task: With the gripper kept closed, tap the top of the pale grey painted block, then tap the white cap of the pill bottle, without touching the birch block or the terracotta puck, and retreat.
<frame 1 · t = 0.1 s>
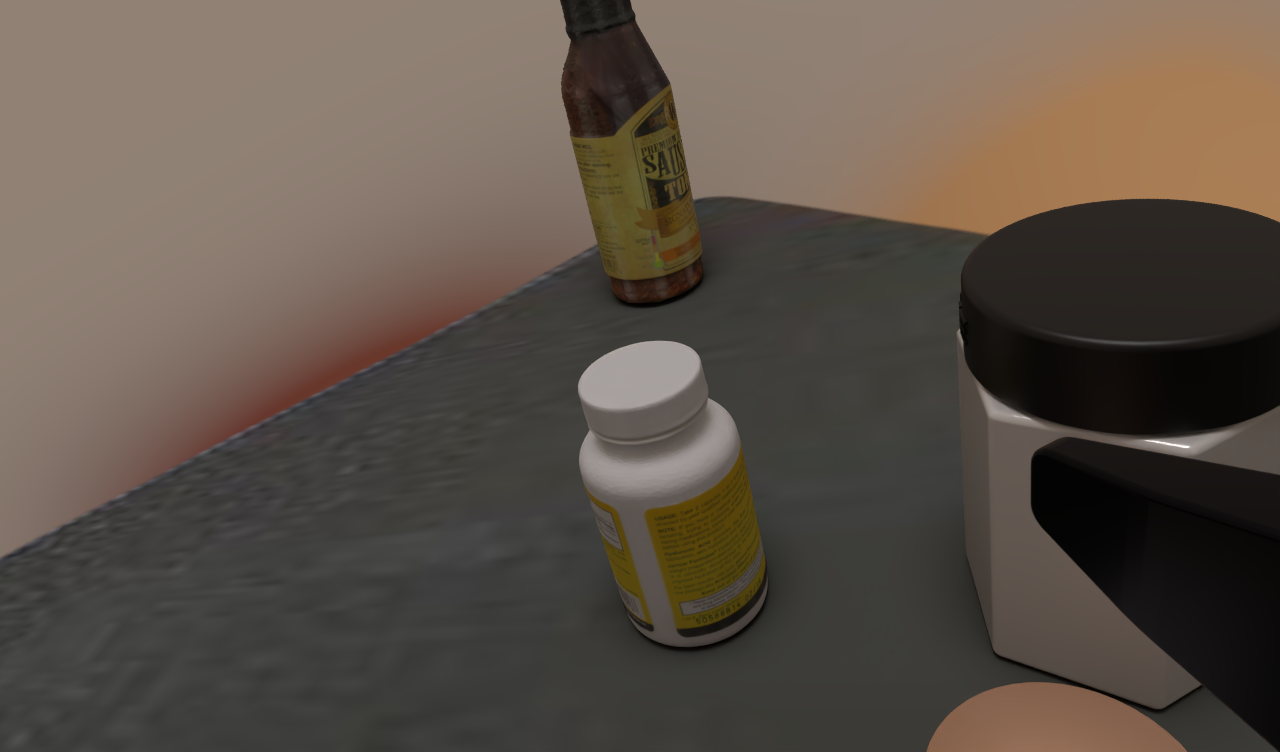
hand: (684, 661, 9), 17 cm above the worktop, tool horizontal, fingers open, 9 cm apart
supplement bottle: (698, 597, 32), on the worktop
sauce bottle: (660, 286, 55), on the worktop
jar: (1105, 599, 28), on the worktop
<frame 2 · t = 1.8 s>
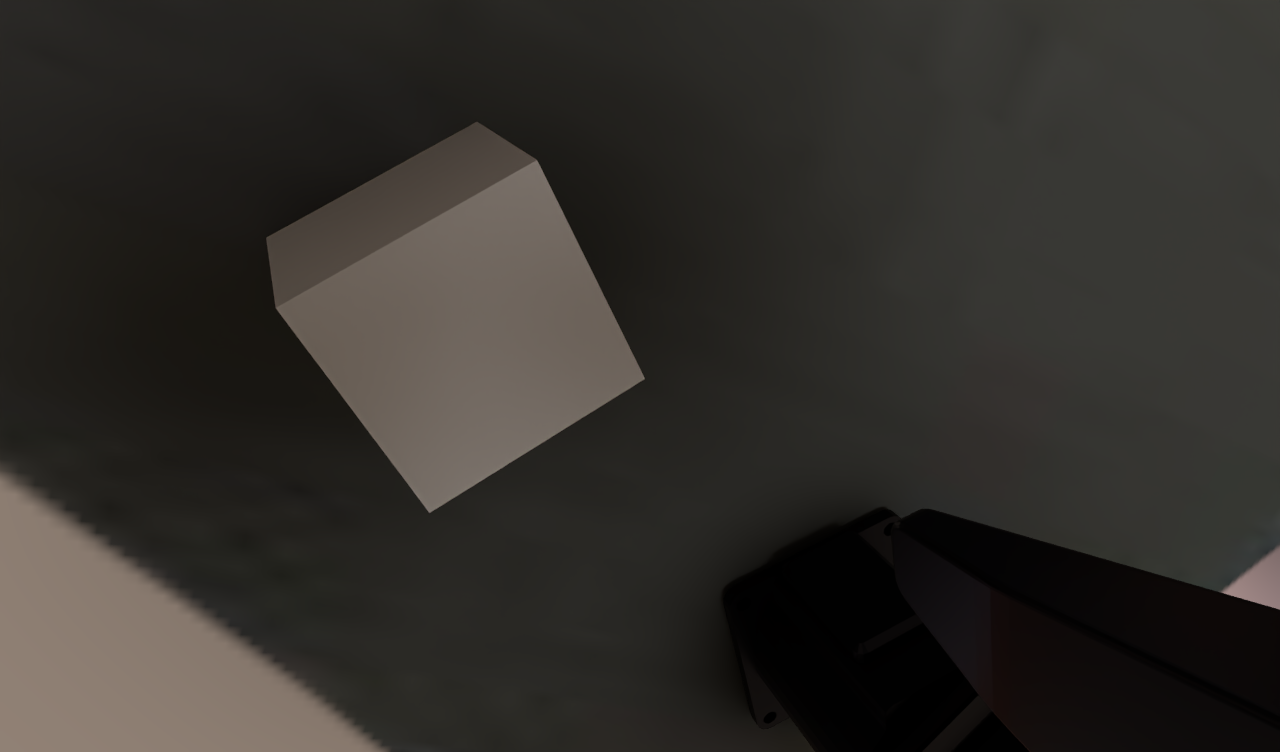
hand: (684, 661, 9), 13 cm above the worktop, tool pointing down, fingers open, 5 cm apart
grey block: (432, 274, 20), on the worktop
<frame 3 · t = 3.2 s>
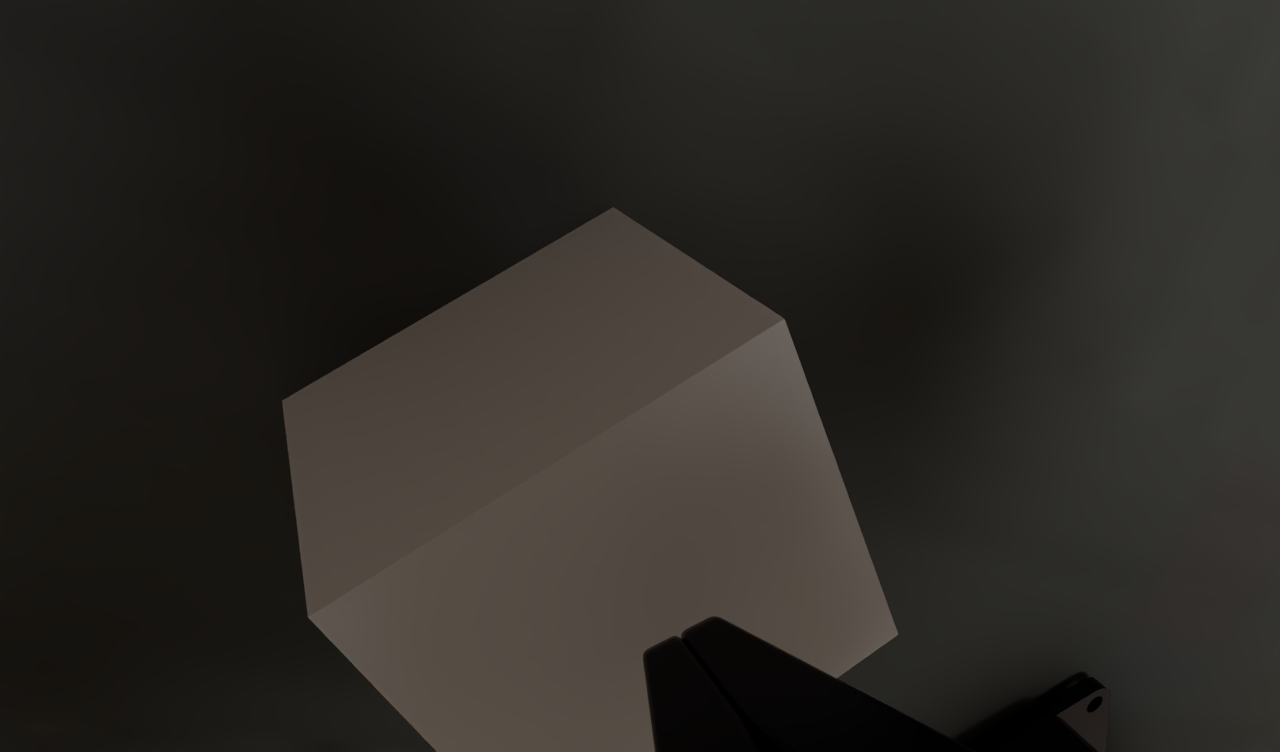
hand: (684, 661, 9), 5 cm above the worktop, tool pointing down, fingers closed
grey block: (534, 433, 13), on the worktop
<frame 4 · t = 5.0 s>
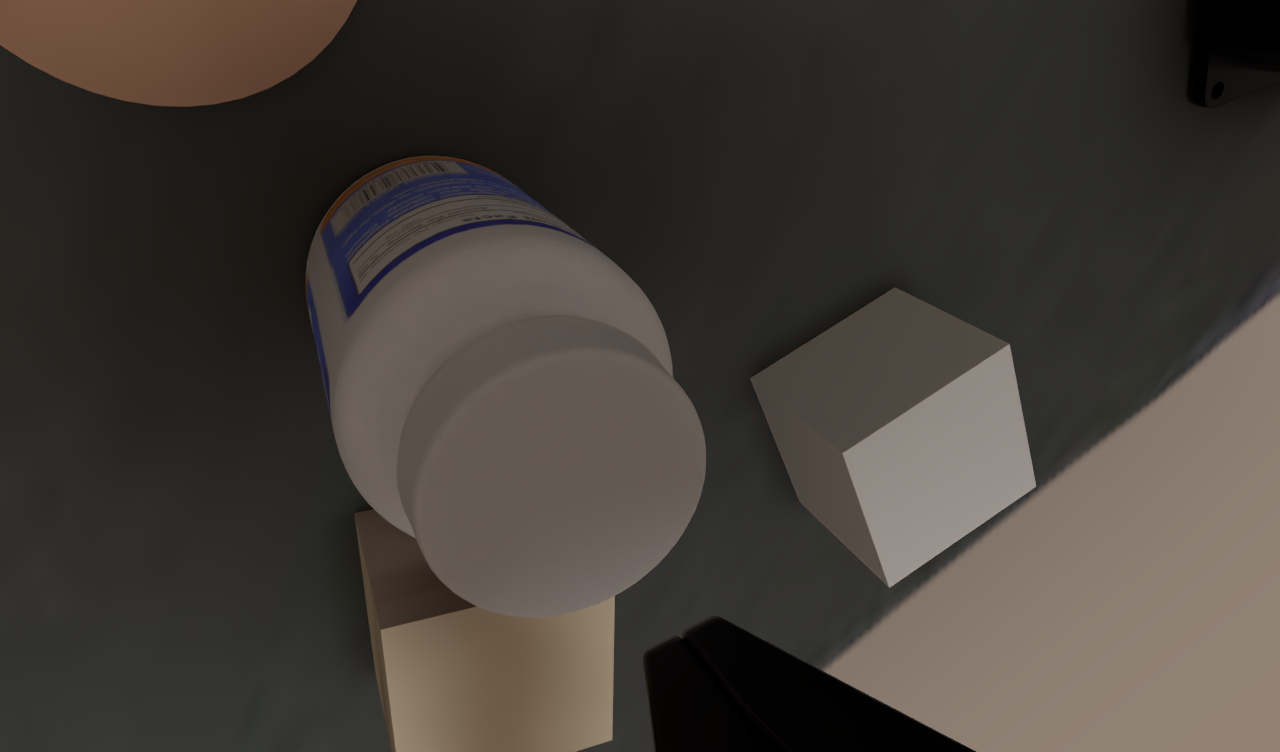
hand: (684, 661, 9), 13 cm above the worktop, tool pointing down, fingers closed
pill bottle: (430, 270, 19), on the worktop
birch block: (462, 571, 23), on the worktop
grey block: (843, 397, 26), on the worktop
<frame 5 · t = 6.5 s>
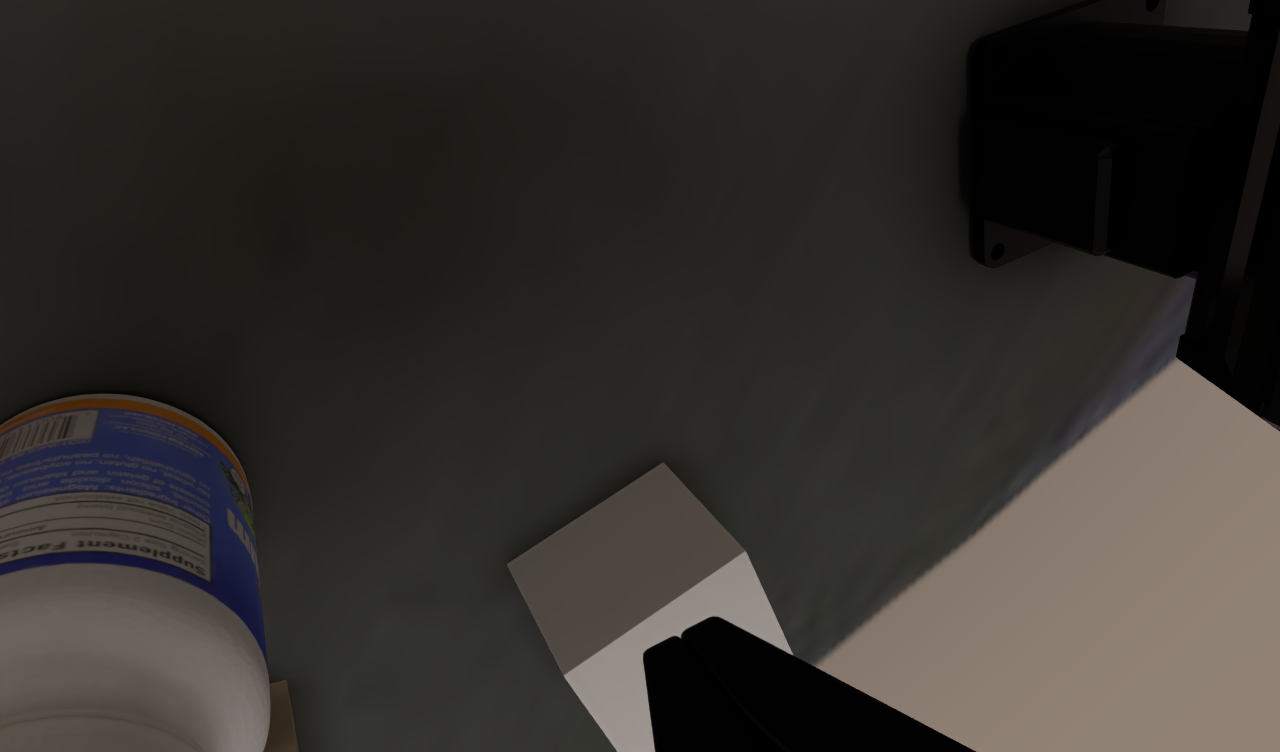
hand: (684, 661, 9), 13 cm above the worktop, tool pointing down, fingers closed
pill bottle: (109, 498, 18), on the worktop
grey block: (619, 569, 25), on the worktop
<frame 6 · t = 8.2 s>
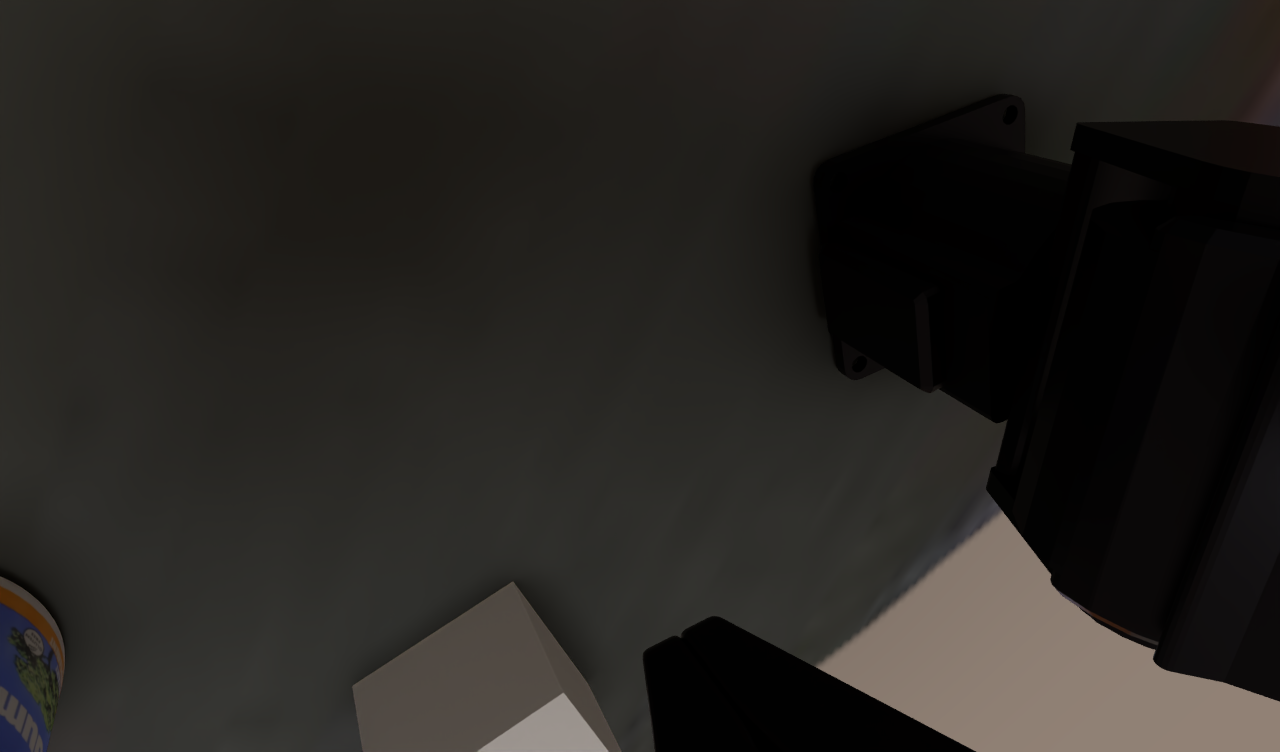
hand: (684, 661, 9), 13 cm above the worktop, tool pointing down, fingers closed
grey block: (477, 681, 25), on the worktop
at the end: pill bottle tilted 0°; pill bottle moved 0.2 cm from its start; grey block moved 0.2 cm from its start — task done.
